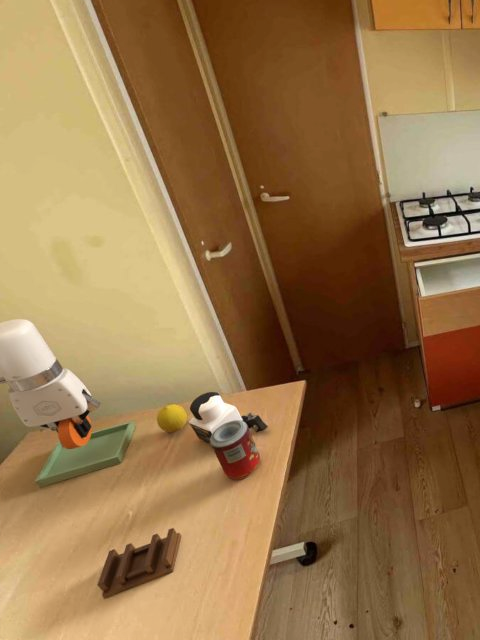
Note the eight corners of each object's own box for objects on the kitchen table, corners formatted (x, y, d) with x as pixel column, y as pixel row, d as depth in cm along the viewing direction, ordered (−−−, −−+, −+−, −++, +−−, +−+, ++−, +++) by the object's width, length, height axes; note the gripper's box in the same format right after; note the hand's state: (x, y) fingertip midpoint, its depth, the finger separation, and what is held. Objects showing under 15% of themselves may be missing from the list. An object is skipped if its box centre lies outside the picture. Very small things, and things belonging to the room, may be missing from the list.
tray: (39, 487, 92) (34, 481, 91) (62, 447, 101) (57, 441, 100) (121, 462, 97) (117, 456, 96) (135, 426, 106) (132, 420, 105)
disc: (70, 457, 93) (52, 432, 90) (85, 429, 100) (68, 405, 96) (82, 453, 94) (64, 429, 90) (95, 426, 101) (79, 402, 97)
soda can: (266, 466, 96) (251, 429, 90) (232, 488, 91) (213, 451, 86) (255, 448, 100) (239, 412, 95) (222, 468, 96) (203, 431, 90)
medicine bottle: (199, 440, 102) (178, 407, 96) (225, 417, 108) (207, 384, 102) (220, 449, 100) (200, 416, 94) (246, 425, 106) (228, 392, 100)
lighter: (246, 436, 106) (233, 421, 105) (253, 430, 108) (240, 415, 107) (261, 432, 102) (247, 416, 101) (268, 426, 104) (255, 410, 103)
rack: (104, 598, 74) (95, 588, 72) (117, 558, 79) (109, 548, 78) (173, 571, 77) (166, 561, 76) (181, 535, 83) (174, 524, 81)
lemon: (158, 436, 103) (145, 413, 100) (179, 418, 108) (167, 396, 104) (176, 441, 102) (164, 417, 98) (197, 423, 107) (185, 400, 103)
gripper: (-28, 399, 81) (24, 461, 90) (78, 374, 87) (117, 435, 96) (-6, 374, 87) (40, 434, 96) (91, 352, 93) (127, 411, 102)
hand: (78, 434), depth 96 cm, fingers closed on disc, 2 cm apart
